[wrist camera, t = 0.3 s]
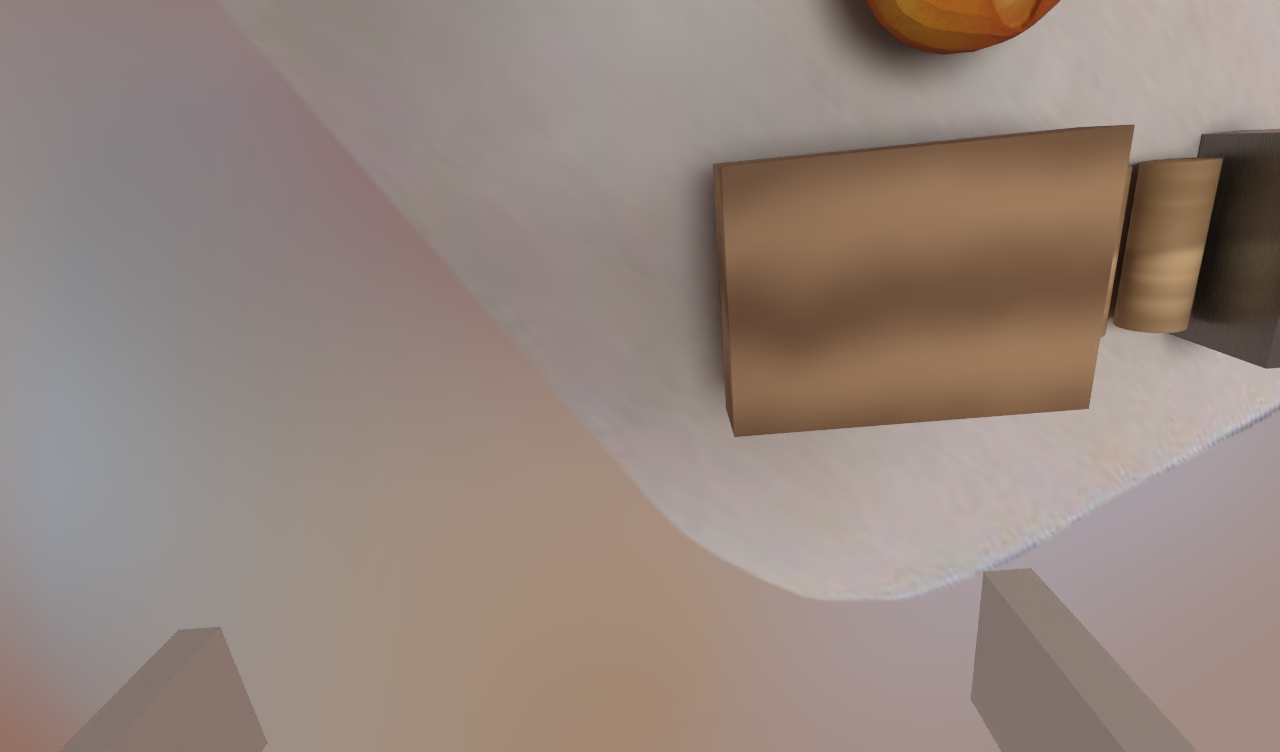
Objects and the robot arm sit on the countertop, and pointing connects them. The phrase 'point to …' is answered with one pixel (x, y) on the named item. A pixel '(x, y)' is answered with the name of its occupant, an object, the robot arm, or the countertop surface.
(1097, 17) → the countertop surface
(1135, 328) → the cylinder
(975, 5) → the cheeseburger
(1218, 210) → the stop rail
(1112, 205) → the board
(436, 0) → the countertop surface
